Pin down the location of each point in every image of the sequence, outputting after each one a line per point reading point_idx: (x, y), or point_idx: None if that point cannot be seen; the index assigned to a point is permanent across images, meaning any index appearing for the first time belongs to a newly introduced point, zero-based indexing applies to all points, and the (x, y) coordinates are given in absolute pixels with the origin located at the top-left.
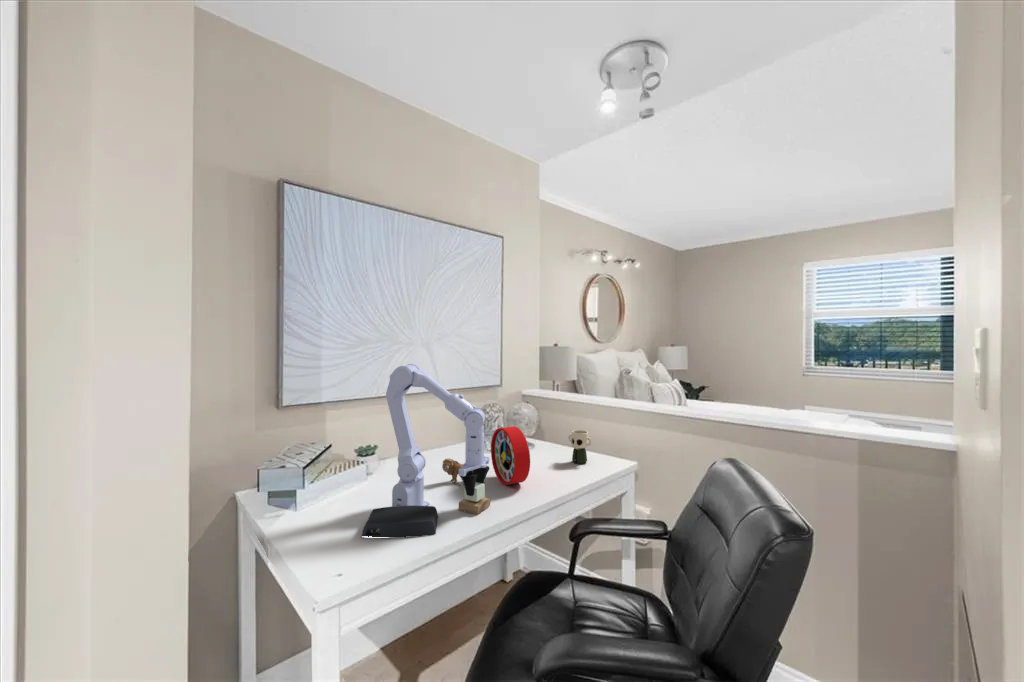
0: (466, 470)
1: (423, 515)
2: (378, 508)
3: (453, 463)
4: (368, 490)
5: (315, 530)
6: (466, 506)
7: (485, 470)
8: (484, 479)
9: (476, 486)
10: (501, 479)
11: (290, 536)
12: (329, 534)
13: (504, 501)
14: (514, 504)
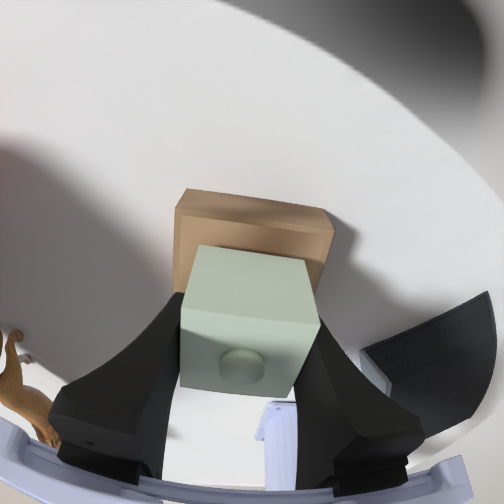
0: (451, 497)
1: (461, 370)
2: None
3: (57, 445)
4: (240, 478)
5: (424, 445)
6: None
7: (142, 422)
8: (145, 340)
9: (269, 343)
10: None
11: (437, 447)
12: None
13: (88, 141)
14: (102, 68)
